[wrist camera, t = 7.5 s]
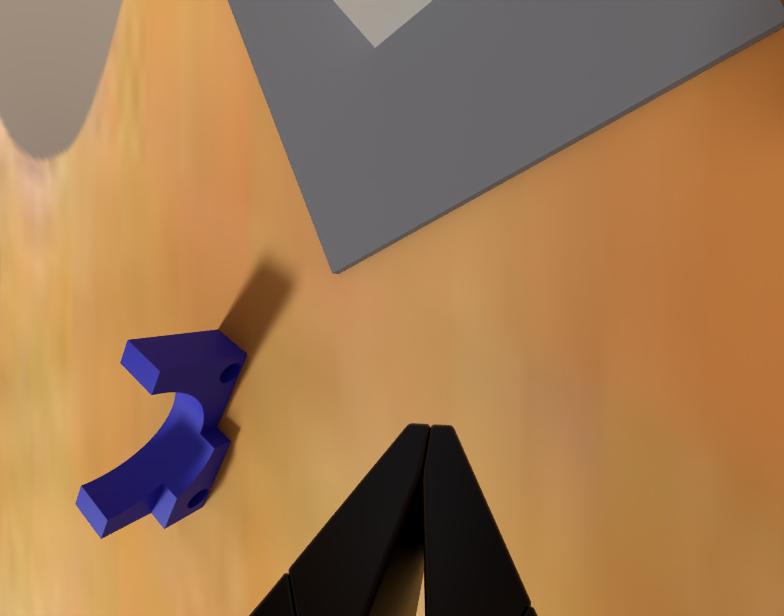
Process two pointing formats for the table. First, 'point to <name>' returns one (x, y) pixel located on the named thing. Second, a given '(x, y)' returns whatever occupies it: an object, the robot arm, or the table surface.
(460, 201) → the rubber mat
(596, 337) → the table surface
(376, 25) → the cream block
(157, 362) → the cable clip
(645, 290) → the table surface
